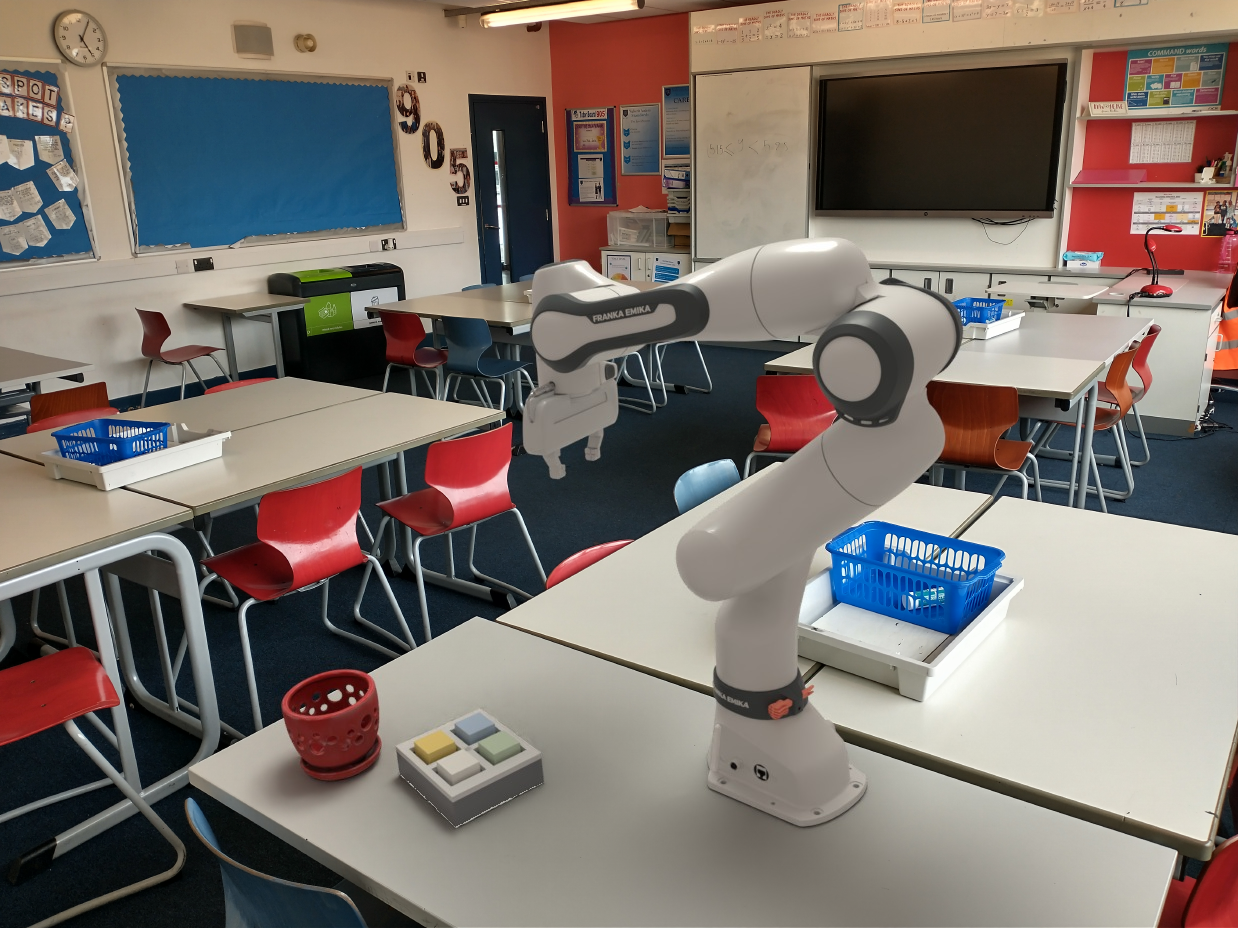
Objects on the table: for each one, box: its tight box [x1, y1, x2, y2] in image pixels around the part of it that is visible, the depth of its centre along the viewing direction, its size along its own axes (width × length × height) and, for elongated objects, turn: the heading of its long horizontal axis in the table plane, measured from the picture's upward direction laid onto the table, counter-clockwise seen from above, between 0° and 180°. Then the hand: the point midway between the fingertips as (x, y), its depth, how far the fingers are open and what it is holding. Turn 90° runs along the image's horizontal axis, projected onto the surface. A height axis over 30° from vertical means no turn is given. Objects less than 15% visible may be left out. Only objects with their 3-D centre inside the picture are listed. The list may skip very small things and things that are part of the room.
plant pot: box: [281, 669, 383, 781], centre depth 137 cm, size 13×13×12 cm
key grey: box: [436, 749, 481, 787], centre depth 128 cm, size 4×4×3 cm
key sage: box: [478, 730, 521, 766], centre depth 132 cm, size 4×4×3 cm
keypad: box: [394, 708, 545, 828], centre depth 133 cm, size 16×14×5 cm
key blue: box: [454, 712, 496, 746], centre depth 136 cm, size 4×4×3 cm
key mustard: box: [414, 730, 456, 765], centre depth 133 cm, size 4×4×3 cm
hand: (576, 468), depth 139 cm, fingers open, 8 cm apart
